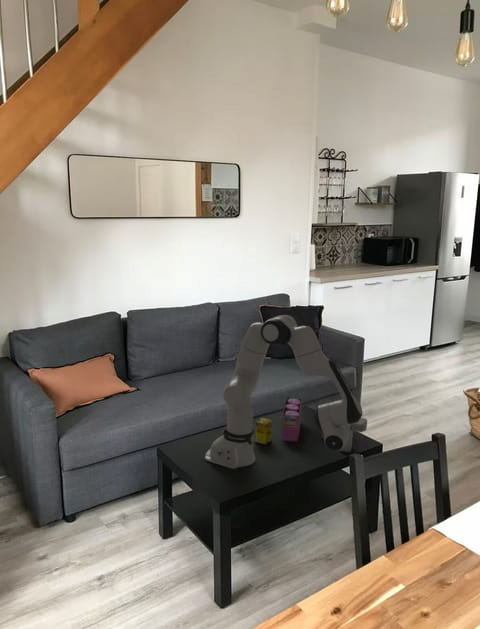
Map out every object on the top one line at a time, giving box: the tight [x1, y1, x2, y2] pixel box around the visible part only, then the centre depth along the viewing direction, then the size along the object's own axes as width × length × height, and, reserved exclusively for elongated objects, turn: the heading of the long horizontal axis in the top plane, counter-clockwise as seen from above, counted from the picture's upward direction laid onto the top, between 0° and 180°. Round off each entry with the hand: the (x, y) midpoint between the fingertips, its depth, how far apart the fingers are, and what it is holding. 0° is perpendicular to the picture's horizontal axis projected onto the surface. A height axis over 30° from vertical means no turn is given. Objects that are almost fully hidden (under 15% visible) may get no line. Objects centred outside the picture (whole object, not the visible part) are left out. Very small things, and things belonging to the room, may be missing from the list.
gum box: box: [281, 397, 302, 443], centre depth 256 cm, size 24×8×14 cm, turn 170°
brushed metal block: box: [338, 431, 354, 453], centre depth 238 cm, size 5×5×12 cm
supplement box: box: [254, 417, 273, 446], centre depth 244 cm, size 6×6×11 cm
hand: (344, 414), depth 224 cm, fingers open, 8 cm apart
